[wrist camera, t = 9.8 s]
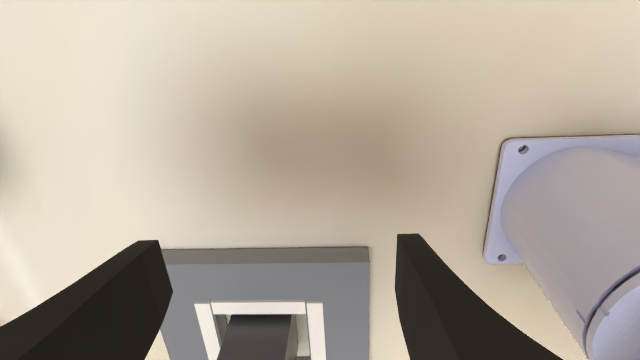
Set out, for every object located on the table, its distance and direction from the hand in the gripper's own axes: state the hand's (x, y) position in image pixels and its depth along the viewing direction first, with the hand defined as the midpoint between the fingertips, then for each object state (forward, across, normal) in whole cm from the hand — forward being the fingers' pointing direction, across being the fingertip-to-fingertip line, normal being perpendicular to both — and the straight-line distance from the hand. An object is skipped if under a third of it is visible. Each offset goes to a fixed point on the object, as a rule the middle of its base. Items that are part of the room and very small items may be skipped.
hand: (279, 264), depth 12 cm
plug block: (+10, +4, +14) cm, 18 cm away
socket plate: (+10, +4, +14) cm, 18 cm away
